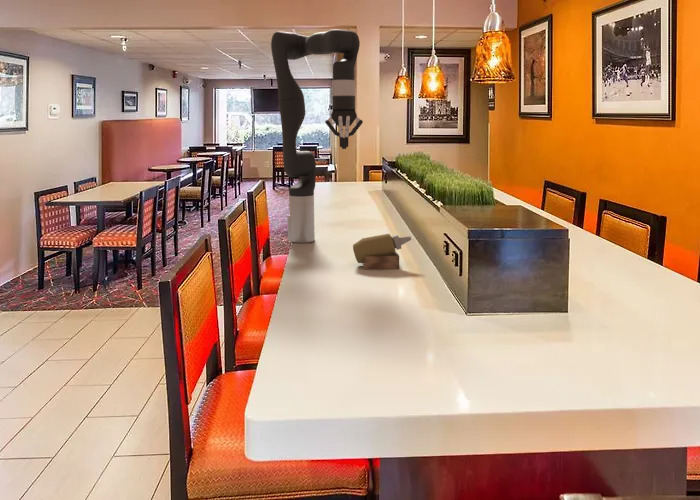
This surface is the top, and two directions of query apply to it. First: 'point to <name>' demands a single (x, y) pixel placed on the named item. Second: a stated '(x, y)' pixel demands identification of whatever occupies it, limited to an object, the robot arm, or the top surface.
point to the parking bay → (381, 262)
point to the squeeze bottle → (378, 246)
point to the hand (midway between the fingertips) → (344, 148)
